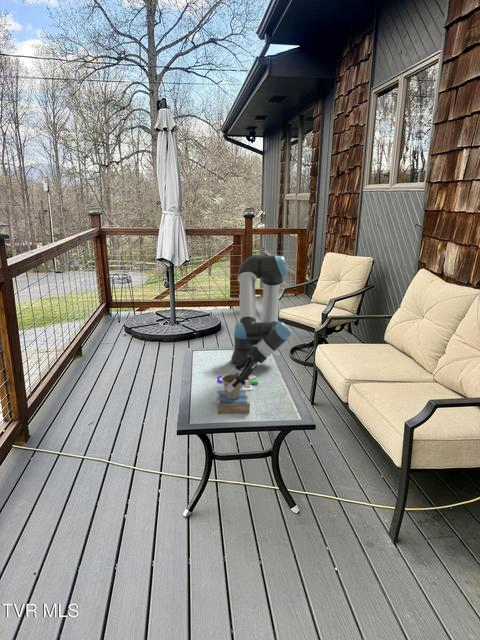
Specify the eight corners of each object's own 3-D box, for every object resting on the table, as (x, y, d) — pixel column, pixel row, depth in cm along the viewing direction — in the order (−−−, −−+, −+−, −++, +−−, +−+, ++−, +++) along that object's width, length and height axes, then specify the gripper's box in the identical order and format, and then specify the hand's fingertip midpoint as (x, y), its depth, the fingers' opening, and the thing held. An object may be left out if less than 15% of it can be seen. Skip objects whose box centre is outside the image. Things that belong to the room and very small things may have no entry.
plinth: (217, 399, 199) (217, 390, 197) (247, 399, 200) (247, 389, 198) (217, 414, 185) (217, 404, 184) (249, 413, 186) (249, 403, 185)
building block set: (218, 372, 232) (218, 364, 231) (255, 371, 233) (255, 364, 232) (216, 391, 208) (216, 383, 207) (258, 391, 209) (258, 383, 208)
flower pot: (219, 393, 194) (218, 376, 191) (238, 390, 197) (238, 373, 195) (226, 402, 185) (226, 384, 183) (246, 398, 189) (246, 380, 187)
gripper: (271, 367, 175) (234, 402, 179) (264, 347, 199) (231, 378, 202) (258, 355, 174) (221, 390, 177) (253, 337, 197) (220, 368, 200)
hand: (226, 384), depth 189 cm, fingers open, 12 cm apart
